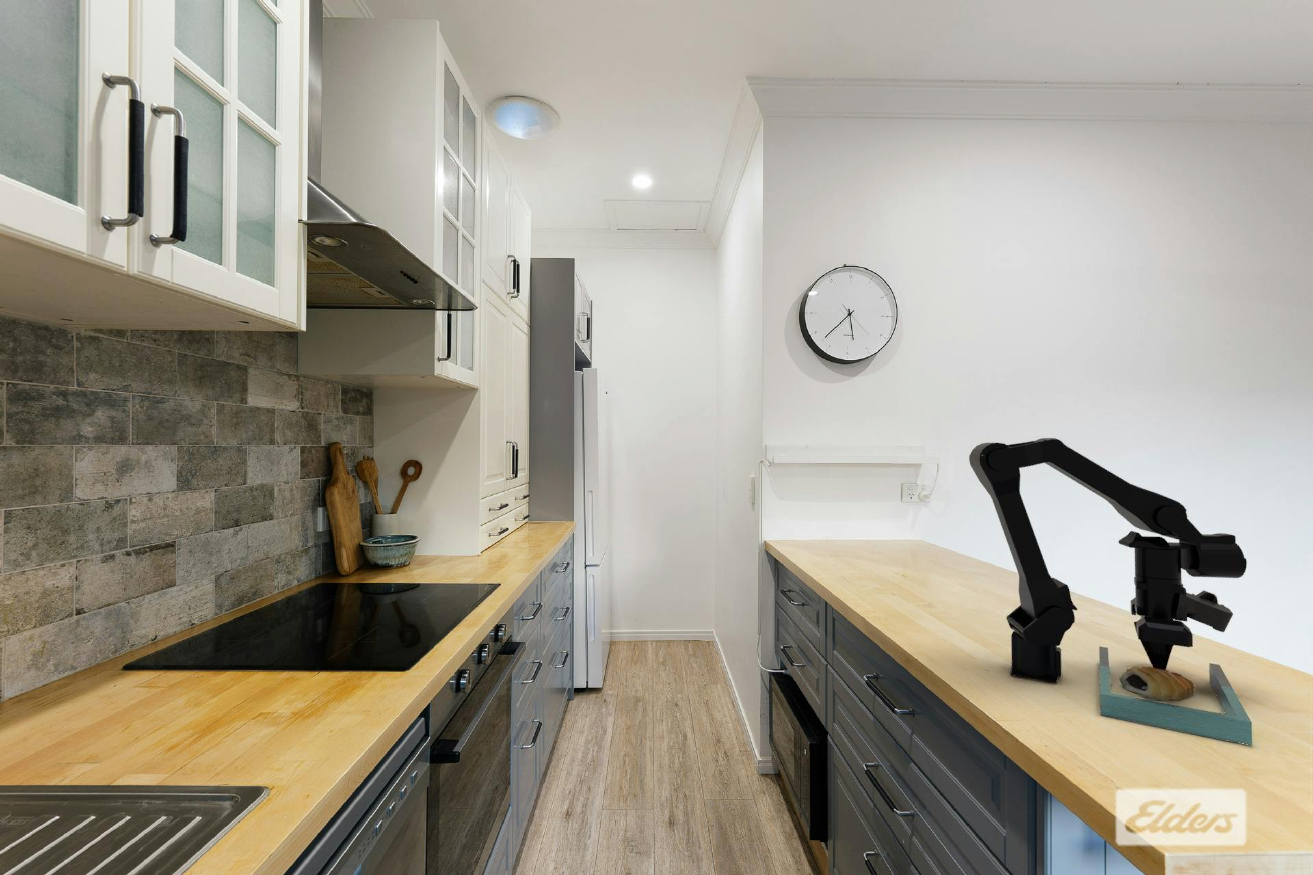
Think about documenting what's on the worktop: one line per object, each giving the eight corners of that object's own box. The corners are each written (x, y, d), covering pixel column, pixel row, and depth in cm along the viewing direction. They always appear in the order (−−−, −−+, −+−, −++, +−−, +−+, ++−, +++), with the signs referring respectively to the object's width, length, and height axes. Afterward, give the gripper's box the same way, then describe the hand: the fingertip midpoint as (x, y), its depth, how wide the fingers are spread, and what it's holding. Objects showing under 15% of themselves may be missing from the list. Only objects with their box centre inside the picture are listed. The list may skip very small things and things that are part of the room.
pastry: (1166, 682, 97) (1165, 658, 97) (1210, 700, 90) (1210, 674, 90) (1115, 686, 95) (1114, 662, 95) (1156, 704, 89) (1156, 679, 89)
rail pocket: (1100, 714, 85) (1100, 693, 85) (1099, 663, 105) (1099, 646, 105) (1252, 746, 76) (1251, 722, 76) (1219, 683, 96) (1219, 664, 96)
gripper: (1239, 595, 84) (1242, 707, 84) (1215, 570, 99) (1217, 665, 99) (1137, 585, 90) (1139, 689, 90) (1129, 563, 106) (1131, 652, 106)
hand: (1159, 673), depth 96 cm, fingers closed
